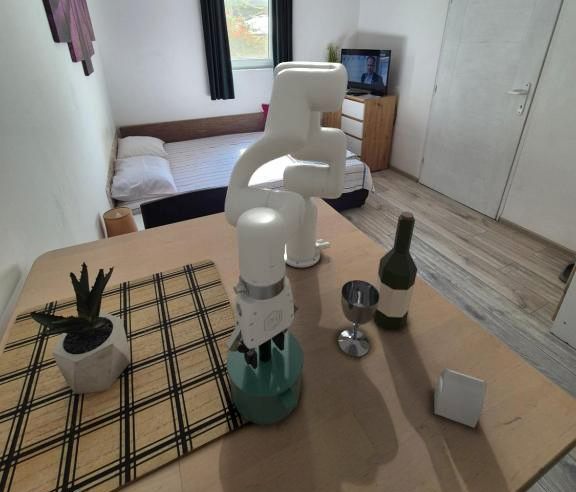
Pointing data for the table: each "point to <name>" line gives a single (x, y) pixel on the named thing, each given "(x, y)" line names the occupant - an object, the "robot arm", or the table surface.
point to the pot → (266, 404)
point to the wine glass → (357, 315)
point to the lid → (267, 368)
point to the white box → (459, 397)
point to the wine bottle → (396, 277)
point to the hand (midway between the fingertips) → (265, 353)
